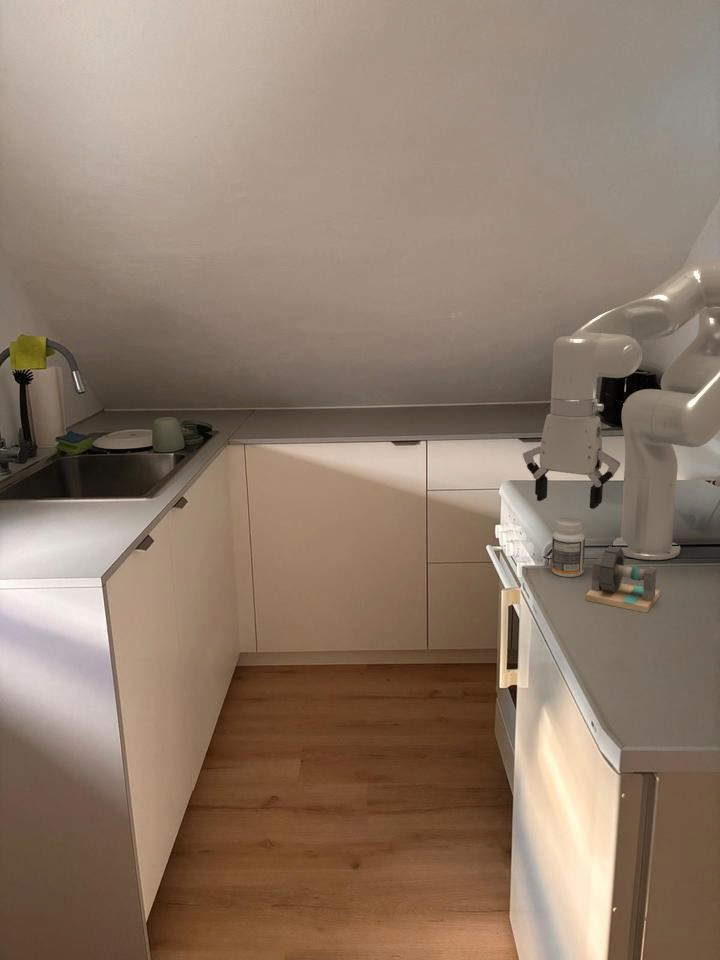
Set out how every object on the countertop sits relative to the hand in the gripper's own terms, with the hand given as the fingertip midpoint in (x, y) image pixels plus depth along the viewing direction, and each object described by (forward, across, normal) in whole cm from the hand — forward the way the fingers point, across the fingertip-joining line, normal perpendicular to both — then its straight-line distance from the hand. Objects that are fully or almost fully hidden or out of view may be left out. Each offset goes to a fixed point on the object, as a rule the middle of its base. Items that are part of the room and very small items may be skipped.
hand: (567, 503), depth 138 cm
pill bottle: (+14, 0, -1) cm, 14 cm away
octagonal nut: (+12, -10, +6) cm, 17 cm away
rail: (+13, -12, +6) cm, 19 cm away
